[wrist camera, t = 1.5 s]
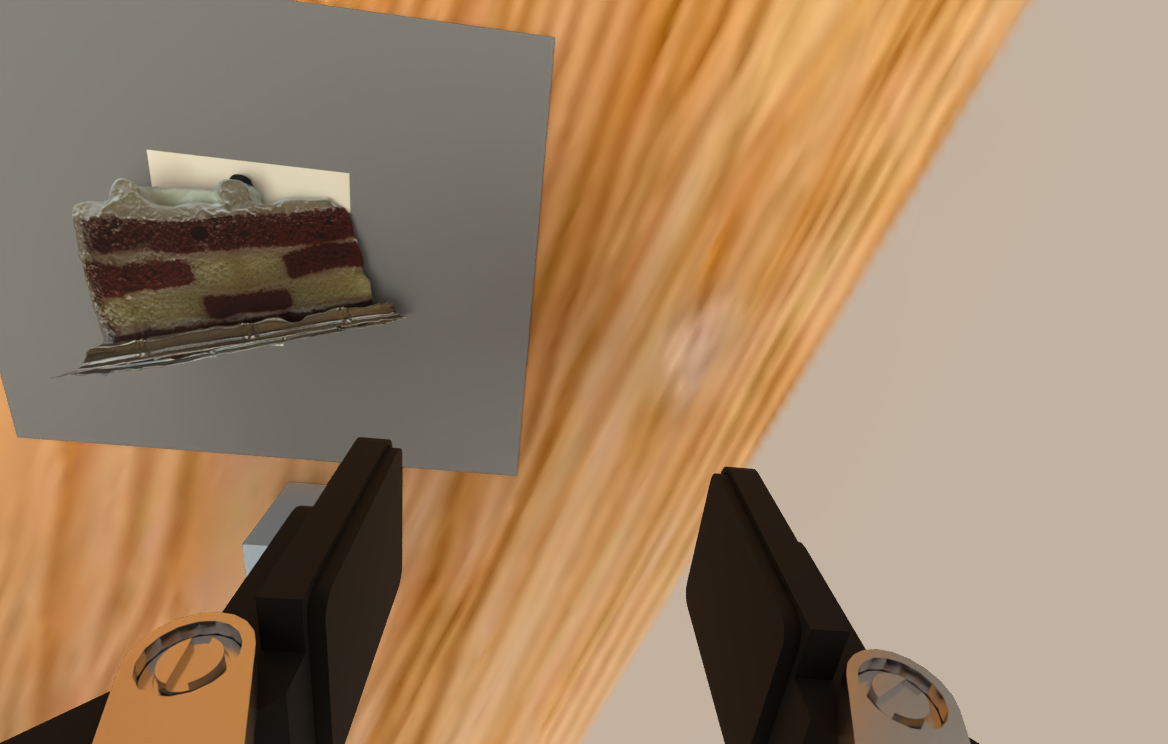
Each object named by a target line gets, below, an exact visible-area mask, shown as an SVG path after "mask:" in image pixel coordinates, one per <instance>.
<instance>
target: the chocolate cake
mask: <svg viewBox="0 0 1168 744" xmlns="http://www.w3.org/2000/svg"><path fill="white" fill-rule="evenodd" d="M72 220H73V224H74V227H75V234H76V238H77V244H78V250H79V254H78V257H79V259H80V260H81V261H82V264H83V269H84V275H85V279H86V284H87V286H88V289H89V294H90V297H91V300H92V306H93V309H94V311H95V313H96V315H97V318H98V322H99V327H100V330H101V332H102V335H103V339H104V341H103V343H102V344H101V345H100V346H97V347H93V348H91V349H90V350H88V351H87V352H86V358H85V360H84V362H83V364H82V366H81V367H80V368H78V369H77V370H75V371H71V372H68V373H65V374H63V375H60V376H57V377H61V376H62V377H64V376H67V375H68V374H71V375H74V374H75V376H77V375H79V376H80V375H81V376H85V375H90V374H101V375H104V376H107V375H108V374H109V373H110V372H111V373H114V372H115V371H120V372H123V371H140V370H142V369H148V368H158V367H161V368H162V367H167V366H171V365H175V364H179V363H183V364H184V363H188V362H191V361H195V360H200V359H205V358H211V359H212V358H215V357H217V356H216V355H219V354H224V353H227V354H232V353H236V352H240V351H245V350H250V349H254V348H258V347H266V346H268V345H277V344H278V345H280V344H284V343H286V342H292V341H295V340H298V341H302V340H304V339H308V338H310V337H314V336H317V335H324V334H325V333H326V334H330V332H332V333H337V332H342V331H345V330H352V329H362V328H367V327H370V326H376V325H377V326H381V325H382V324H386V323H385V322H387V323H389V322H391V321H392V322H394V321H396V320H400V319H406V317H403V316H400V315H399V314H398V313H397V312H396V310H395V307H394V305H393V303H391V302H385V303H381V304H380V303H378V304H374V302H373V300H372V292H371V284H370V280H369V279H368V278H367V277H366V276H365V275H364V273H363V269H362V267H363V256H362V253H361V251H360V249H359V246H358V241H357V239H356V237H355V235H354V233H353V226H352V222H351V219H350V216H349V213H348V212H347V211H346V209H345V208H343V207H341V206H338V205H336V204H334V203H333V202H332V201H331V200H330V199H328V198H325V199H310V198H302V199H295V198H285V199H280V200H277V201H276V202H274V203H271V204H263V200H262V196H261V193H260V192H259V191H257V190H256V189H255V188H254V186H253V184H252V181H251V180H250V179H249V178H248V177H246V176H244V175H240V174H234V175H232V176H231V177H230V179H224V180H222V181H220V182H219V183H218V184H217V186H216V189H209V188H196V187H185V188H176V187H158V186H155V187H142V186H137V185H136V184H135V183H134V182H132V181H131V180H128V179H125V178H118V179H116V180H115V181H114V183H113V184H112V186H111V189H110V191H109V199H108V200H107V201H105V202H97V201H86V202H82V203H78V204H76V205H74V207H73V209H72ZM53 378H56V377H53Z"/></svg>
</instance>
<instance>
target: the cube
mask: <svg viewBox="0 0 1168 744" xmlns="http://www.w3.org/2000/svg"><path fill="white" fill-rule="evenodd" d="M326 486H327V485H323V484H309V483H296V482H289V483H288V484H287V485H286V487H285V488H284V489H283V491H282V492H281V493H280V495H279V496H278V497H277V499H276V500H275V501H274V503H273V504H272V505H271V507H270V508H269V509H268V511H267V512H266V513H265V515H264V516H263V517H262V519H261V520H260V521H259V523H258V524H257V525H256V527H255V528H254V529H253V531H252V532H251V533H250V535H249V536H248V537H247V539H246V540H245V541H244V543H243V544H242V546H243V554H244V563H245V571H246V577H247V576H248V574H249V573H250V571H251V570H252V568H253V567H254V565H255V564H256V563H257V561H258V560H259V558H260V557H261V555H262V554H263V552H264V551H265V549H266V548H267V547H268V545H269V544H270V542H271V541H272V539H273V538H274V536H275V535H276V533H277V532H278V531H279V529H280V528H281V526H282V525H283V523H284V522H285V520H286V519H287V518H288V516H289V515H290V513H291V512H292V511H293V510H294V509H295V507H297V506H300V505H303V506H314V504H315V503H316V501H317V500H318V498H319V496H320V495H321V493H322V492H323V490H324V489H325V487H326Z"/></svg>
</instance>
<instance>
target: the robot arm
mask: <svg viewBox="0 0 1168 744" xmlns="http://www.w3.org/2000/svg"><path fill="white" fill-rule="evenodd" d="M401 572H402V449H401V448H392V442H391V440H390V439H379V438H367V437H358V438H357V439H356V440H355V442H354V443H353V445H352V447H351V448H350V450H349V451H348V453H347V454H346V456H345V457H344V459H343V461H342V462H341V464H340V465H339V467H338V468H337V470H336V472H335V473H334V475H333V476H332V478H331V479H330V481H329V482H328V484H327V486H326V487H325V489H324V490H323V492H322V493H321V495H320V496H319V498H318V500H317V501H316V503H315V504H314V506H303V505H300V506H297V507H295V509H294V510H293V511H292V512H291V513H290V515H289V516H288V518H287V519H286V520H285V522H284V523H283V525H282V526H281V528H280V529H279V531H278V532H277V533H276V535H275V536H274V538H273V539H272V541H271V542H270V544H269V545H268V547H267V548H266V549H265V551H264V552H263V554H262V555H261V557H260V558H259V560H258V561H257V563H256V564H255V565H254V567H253V568H252V570H251V571H250V573H249V574H248V576H247V577H246V578H245V580H244V581H243V583H242V584H241V586H240V587H239V589H238V590H237V592H236V593H235V594H234V596H233V597H232V599H231V600H230V602H229V603H228V605H227V606H226V608H225V609H224V610H223V612H211V613H199V614H195V615H191V616H187V617H183V618H180V619H177V620H175V621H173V622H170V623H168V624H166V625H164V626H162V627H159V628H158V629H156V630H155V631H153V632H152V633H150V634H149V635H147V636H146V637H144V638H143V639H141V640H140V641H139V642H138V643H137V644H136V645H135V646H134V647H133V648H132V649H131V650H130V651H129V652H128V653H127V654H126V656H125V658H124V660H123V662H122V663H121V665H120V667H119V669H118V671H117V674H116V677H115V679H114V682H113V685H112V688H111V691H110V692H108V693H105V694H103V695H101V696H99V697H97V698H95V699H93V700H91V701H89V702H86V703H84V704H82V705H80V706H78V707H76V708H74V709H72V710H69V711H67V712H65V713H63V714H61V715H59V716H57V717H55V718H52V719H50V720H48V721H46V722H44V723H42V724H40V725H38V726H36V727H33V728H31V729H29V730H27V731H25V732H23V733H21V734H19V735H16V736H14V737H12V738H10V739H8V740H6V741H4V742H2V743H0V744H345V742H346V739H347V736H348V733H349V730H350V727H351V724H352V721H353V718H354V715H355V712H356V710H357V707H358V704H359V701H360V698H361V695H362V692H363V689H364V686H365V683H366V680H367V678H368V675H369V672H370V669H371V666H372V663H373V660H374V657H375V654H376V651H377V648H378V645H379V643H380V640H381V637H382V634H383V631H384V628H385V625H386V622H387V619H388V616H389V613H390V611H391V608H392V605H393V602H394V599H395V596H396V593H397V590H398V587H399V583H400V579H401ZM686 601H687V606H688V610H689V614H690V617H691V621H692V625H693V628H694V632H695V635H696V639H697V643H698V646H699V650H700V654H701V658H702V661H703V665H704V668H705V672H706V675H707V680H708V683H709V687H710V690H711V694H712V698H713V702H714V705H715V709H716V713H717V716H718V720H719V724H720V727H721V731H722V735H723V738H724V742H725V744H979V743H977V742H976V741H974V740H972V739H971V738H969V737H968V734H967V731H966V727H965V724H964V722H963V718H962V715H961V712H960V709H959V707H958V705H957V703H956V701H955V699H954V697H953V695H952V694H951V693H950V692H949V691H948V689H947V688H946V687H945V686H944V685H943V684H942V682H941V681H940V680H939V679H937V678H936V677H935V676H934V675H932V674H931V673H930V672H929V671H928V670H927V669H925V668H924V667H922V666H920V665H919V664H917V663H915V662H914V661H912V660H911V659H908V658H906V657H903V656H901V655H898V654H896V653H893V652H889V651H884V650H878V649H871V650H866V649H865V648H864V646H863V644H862V642H861V641H860V639H859V637H858V636H857V634H856V632H855V631H854V629H853V627H852V626H851V624H850V622H849V621H848V619H847V617H846V615H845V614H844V612H843V610H842V609H841V607H840V605H839V604H838V602H837V600H836V598H835V597H834V595H833V594H832V592H831V590H830V588H829V587H828V585H827V583H826V582H825V580H824V578H823V576H822V575H821V573H820V572H819V570H818V568H817V567H816V565H815V563H814V561H813V560H812V558H811V556H810V555H809V553H808V551H807V550H806V548H805V547H804V546H803V544H802V543H800V542H798V541H797V539H796V537H795V536H794V534H793V532H792V530H791V529H790V527H789V525H788V524H787V522H786V520H785V518H784V517H783V515H782V513H781V512H780V510H779V508H778V506H777V505H776V503H775V501H774V500H773V498H772V496H771V494H770V493H769V491H768V489H767V488H766V486H765V484H764V482H763V481H762V479H761V477H760V475H759V474H758V472H757V471H756V470H755V469H747V468H735V467H725V468H723V470H722V472H721V474H716V473H715V474H713V476H712V478H711V481H710V485H709V490H708V494H707V498H706V503H705V507H704V512H703V516H702V520H701V525H700V529H699V533H698V538H697V542H696V546H695V551H694V555H693V559H692V564H691V568H690V573H689V577H688V581H687V587H686Z"/></svg>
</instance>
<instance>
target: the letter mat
mask: <svg viewBox="0 0 1168 744" xmlns="http://www.w3.org/2000/svg"><path fill="white" fill-rule="evenodd" d="M554 44H555V37H548V36H541V35H534V34H527V33H520V32H512V31H505V30H498V29H491V28H484V27H477V26H469V25H462V24H455V23H448V22H441V21H434V20H426V19H419V18H412V17H405V16H398V15H391V14H383V13H376V12H369V11H362V10H355V9H348V8H340V7H333V6H326V5H319V4H312V3H305V2H297V1H290V0H0V374H1V378H2V382H3V385H4V389H5V393H6V397H7V400H8V404H9V408H10V412H11V415H12V419H13V423H14V427H15V430H16V434H17V437H22V438H34V439H47V440H60V441H73V442H86V443H99V444H112V445H125V446H138V447H150V448H163V449H176V450H189V451H202V452H215V453H228V454H241V455H254V456H266V457H279V458H292V459H305V460H318V461H331V462H342V461H343V459H344V457H345V456H346V454H347V453H348V451H349V450H350V448H351V447H352V445H353V443H354V442H355V440H356V439H357V438H358V437H367V438H379V439H390V440H391V442H392V448H401V449H402V467H408V468H421V469H434V470H447V471H460V472H473V473H486V474H498V475H511V476H517V466H518V455H519V444H520V432H521V421H522V409H523V398H524V387H525V375H526V364H527V352H528V341H529V329H530V318H531V307H532V295H533V284H534V272H535V261H536V250H537V238H538V227H539V215H540V204H541V192H542V181H543V170H544V158H545V147H546V135H547V124H548V113H549V101H550V90H551V78H552V67H553V55H554ZM234 174H240V175H244V176H246V177H248V178H249V179H250V180H251V181H252V184H253V186H254V188H255V189H256V190H257V191H259V192H260V193H261V196H262V200H263V204H271V203H274V202H276V201H277V200H280V199H285V198H295V199H302V198H310V199H325V198H328V199H330V200H331V201H332V202H333V203H334V204H336V205H338V206H341V207H343V208H345V209H346V211H347V212H348V213H349V216H350V219H351V222H352V226H353V233H354V235H355V237H356V239H357V241H358V246H359V249H360V251H361V253H362V256H363V267H362V269H363V273H364V275H365V276H366V277H367V278H368V279H369V280H370V284H371V292H372V300H373V302H374V304H378V303H380V304H381V303H385V302H391V303H393V305H394V307H395V310H396V312H397V313H398V314H399V315H400V316H403V317H406V319H400V320H396V321H394V322H392V321H391V322H389V323H387V322H385V323H386V324H382V325H381V326H377V325H376V326H370V327H367V328H362V329H352V330H345V331H342V332H337V333H332V332H330V334H326V333H325V334H324V335H317V336H314V337H310V338H308V339H304V340H302V341H298V340H295V341H292V342H286V343H284V344H280V345H278V344H277V345H268V346H266V347H258V348H254V349H250V350H245V351H240V352H236V353H232V354H227V353H224V354H219V355H216V356H217V357H215V358H212V359H211V358H205V359H200V360H195V361H191V362H188V363H184V364H183V363H179V364H175V365H171V366H167V367H162V368H161V367H158V368H148V369H142V370H140V371H123V372H120V371H115V372H114V373H111V372H110V373H109V374H108V375H107V376H104V375H101V374H90V375H85V376H81V375H80V376H79V375H77V376H75V374H74V375H71V374H68V375H67V376H64V377H62V376H61V377H57V376H60V375H63V374H65V373H68V372H71V371H75V370H77V369H78V368H80V367H81V366H82V364H83V362H84V360H85V358H86V352H87V351H88V350H90V349H91V348H93V347H97V346H100V345H101V344H102V343H103V341H104V339H103V335H102V332H101V330H100V327H99V322H98V318H97V315H96V313H95V311H94V309H93V306H92V300H91V297H90V294H89V289H88V286H87V284H86V279H85V275H84V269H83V264H82V261H81V260H80V259H79V257H78V254H79V250H78V244H77V238H76V234H75V227H74V224H73V220H72V209H73V207H74V205H76V204H78V203H82V202H86V201H97V202H105V201H107V200H108V199H109V191H110V189H111V186H112V184H113V183H114V181H115V180H116V179H118V178H125V179H128V180H131V181H132V182H134V183H135V184H136V185H137V186H142V187H155V186H158V187H176V188H185V187H196V188H209V189H216V186H217V184H218V183H219V182H220V181H222V180H224V179H230V177H231V176H232V175H234ZM53 377H56V378H53Z"/></svg>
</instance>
